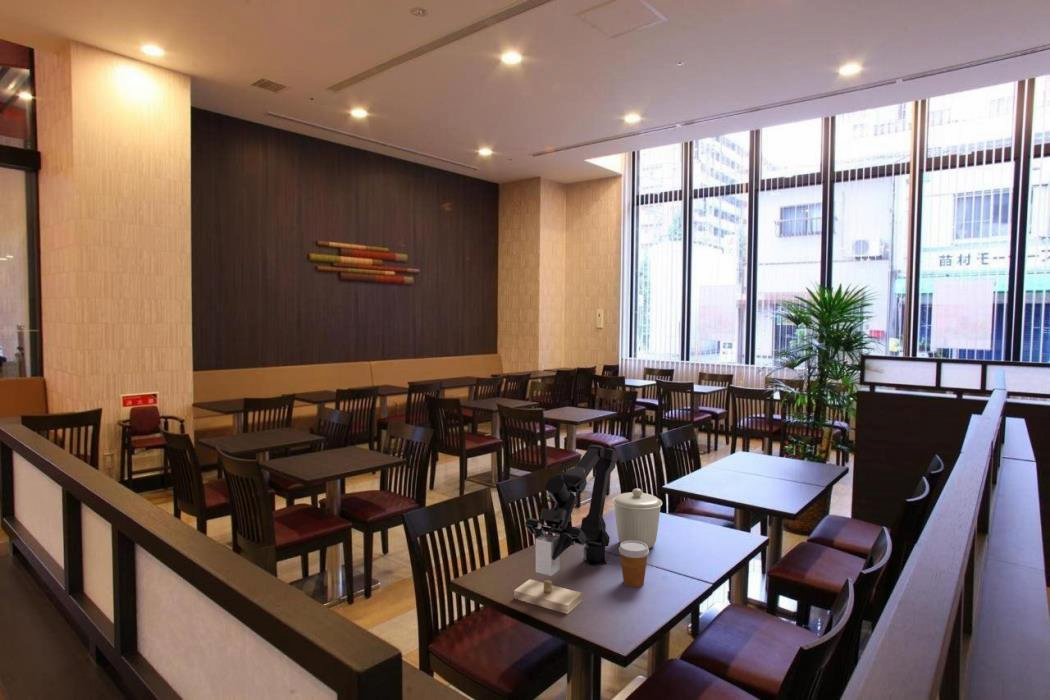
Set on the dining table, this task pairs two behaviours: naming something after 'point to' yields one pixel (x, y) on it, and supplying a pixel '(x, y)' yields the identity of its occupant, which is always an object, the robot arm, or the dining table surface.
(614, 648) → the dining table surface
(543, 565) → the white rectangular block
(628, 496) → the canister
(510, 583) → the dining table surface
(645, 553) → the disposable coffee cup
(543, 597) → the birch block
